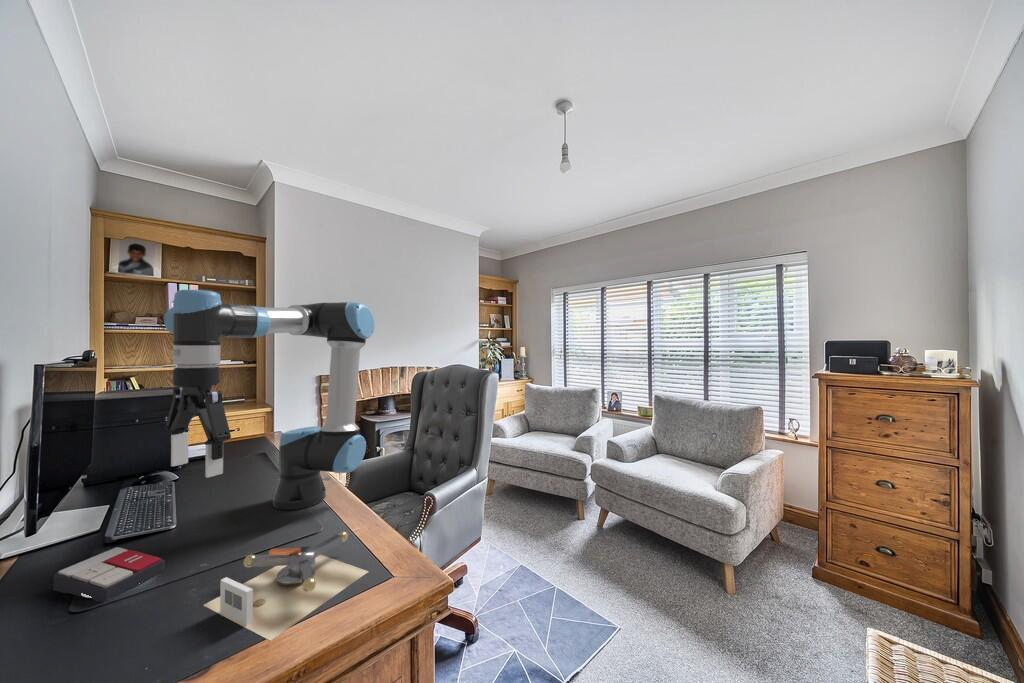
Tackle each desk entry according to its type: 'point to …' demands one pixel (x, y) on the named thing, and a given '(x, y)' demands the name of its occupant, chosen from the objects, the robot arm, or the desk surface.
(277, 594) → the stand base
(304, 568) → the capstan
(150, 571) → the grey and red box
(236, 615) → the panel
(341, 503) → the desk surface
